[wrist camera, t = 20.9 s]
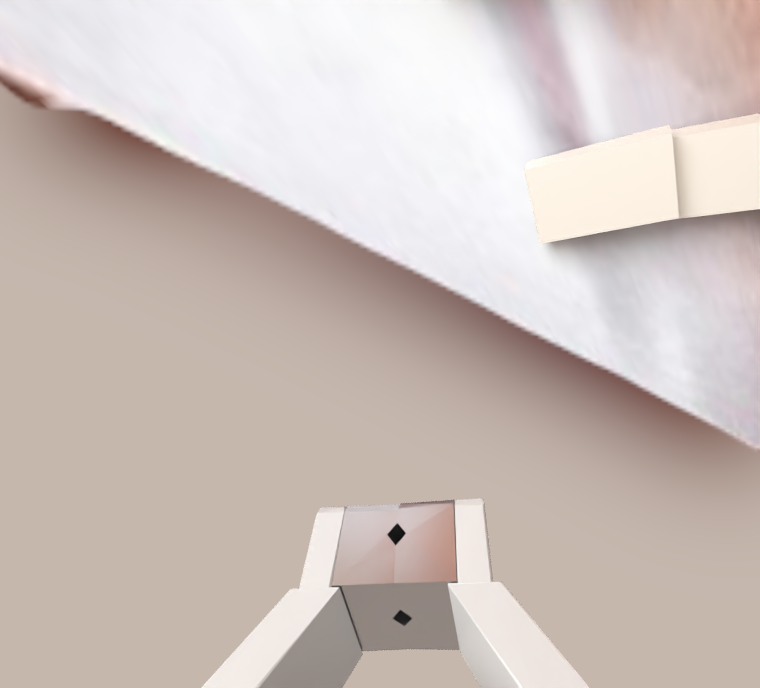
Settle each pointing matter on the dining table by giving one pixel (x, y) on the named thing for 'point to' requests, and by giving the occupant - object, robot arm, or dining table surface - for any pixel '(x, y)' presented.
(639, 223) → the domino
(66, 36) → the dining table surface
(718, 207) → the domino
